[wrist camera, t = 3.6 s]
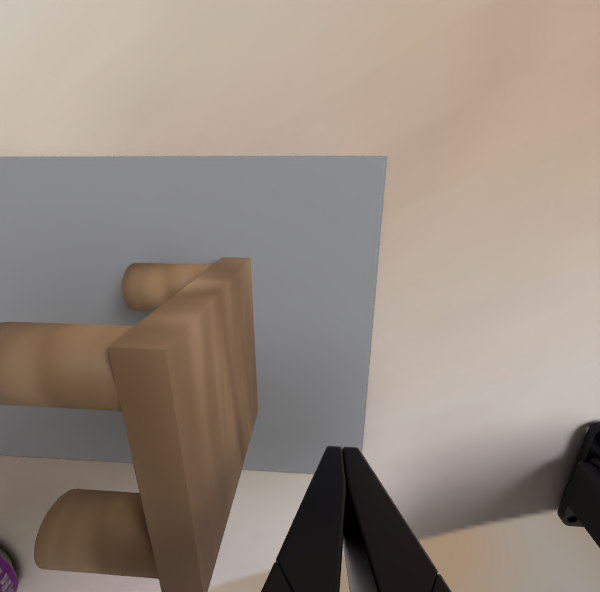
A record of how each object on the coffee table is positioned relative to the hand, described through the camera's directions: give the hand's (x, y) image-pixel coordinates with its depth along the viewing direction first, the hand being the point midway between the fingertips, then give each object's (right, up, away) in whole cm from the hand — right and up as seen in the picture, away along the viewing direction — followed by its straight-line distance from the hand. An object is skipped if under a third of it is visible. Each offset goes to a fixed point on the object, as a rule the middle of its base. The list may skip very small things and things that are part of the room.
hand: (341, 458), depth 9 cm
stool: (-6, +2, +7) cm, 9 cm away
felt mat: (-10, +3, +7) cm, 12 cm away
